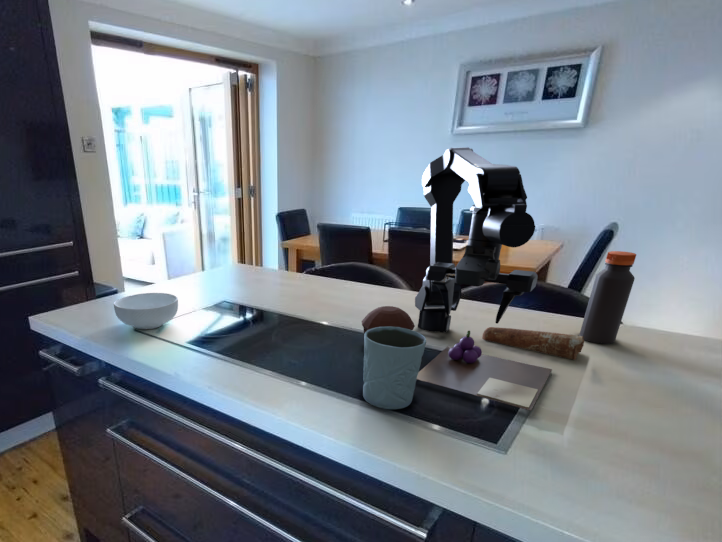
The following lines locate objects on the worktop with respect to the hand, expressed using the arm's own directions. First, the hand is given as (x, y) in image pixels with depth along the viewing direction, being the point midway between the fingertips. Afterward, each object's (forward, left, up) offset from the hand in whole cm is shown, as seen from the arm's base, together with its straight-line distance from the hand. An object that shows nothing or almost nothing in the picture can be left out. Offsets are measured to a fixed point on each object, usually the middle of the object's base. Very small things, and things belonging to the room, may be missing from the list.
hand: (471, 318), depth 88 cm
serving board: (+5, -5, -10) cm, 12 cm away
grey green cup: (-6, -23, -10) cm, 26 cm away
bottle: (+20, +33, -10) cm, 40 cm away
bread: (+9, +15, -10) cm, 20 cm away
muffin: (-16, -3, -10) cm, 19 cm away
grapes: (0, 0, -9) cm, 9 cm away
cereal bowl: (-75, -24, -10) cm, 80 cm away
